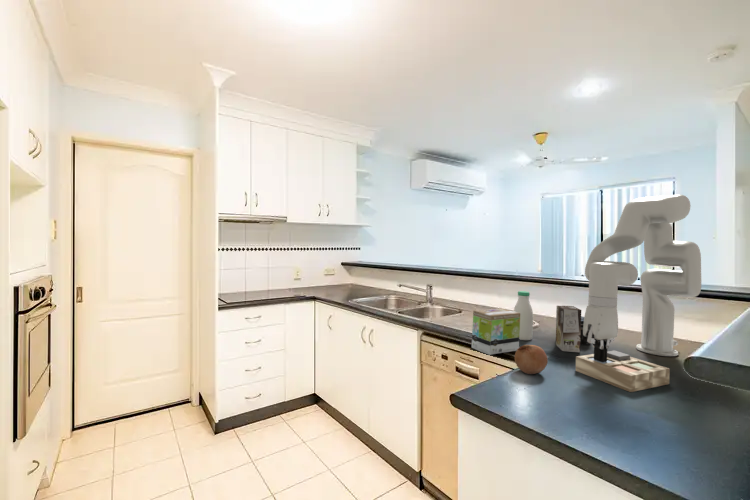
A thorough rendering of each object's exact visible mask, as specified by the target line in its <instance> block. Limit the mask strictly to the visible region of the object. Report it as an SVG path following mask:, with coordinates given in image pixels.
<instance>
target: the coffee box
mask: <svg viewBox="0 0 750 500" xmlns="http://www.w3.org/2000/svg"><path fill="white" fill-rule="evenodd" d="M555 314H556V317H555V322H556V323H555V345H556V347H557V348H558V349H559V350H561V351H562V352H571V353H580V352H581V345H580V335H581V316H582V309H580V308H578V307H576V306H574V305H556V313H555Z"/></svg>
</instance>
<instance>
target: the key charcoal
mask: <svg viewBox="0 0 750 500" xmlns="http://www.w3.org/2000/svg"><path fill="white" fill-rule="evenodd" d="M607 357H609V358H612V359H615V360H618V361H623V360H630V357H631V354H627V353H624V352H621V351H619V350H618V351H617V350H615V349H613V350H607Z"/></svg>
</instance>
